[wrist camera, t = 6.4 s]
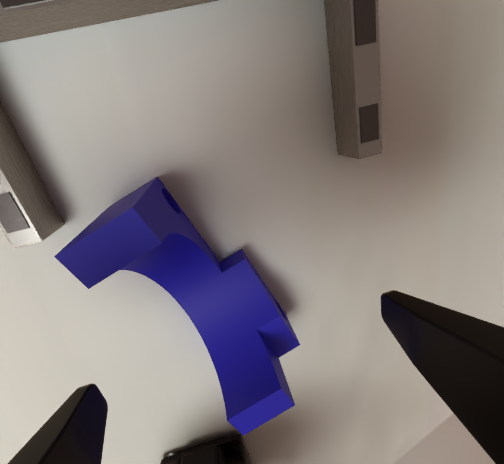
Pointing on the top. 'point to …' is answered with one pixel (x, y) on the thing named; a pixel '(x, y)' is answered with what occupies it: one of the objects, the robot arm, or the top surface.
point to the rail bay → (139, 3)
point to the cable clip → (196, 295)
